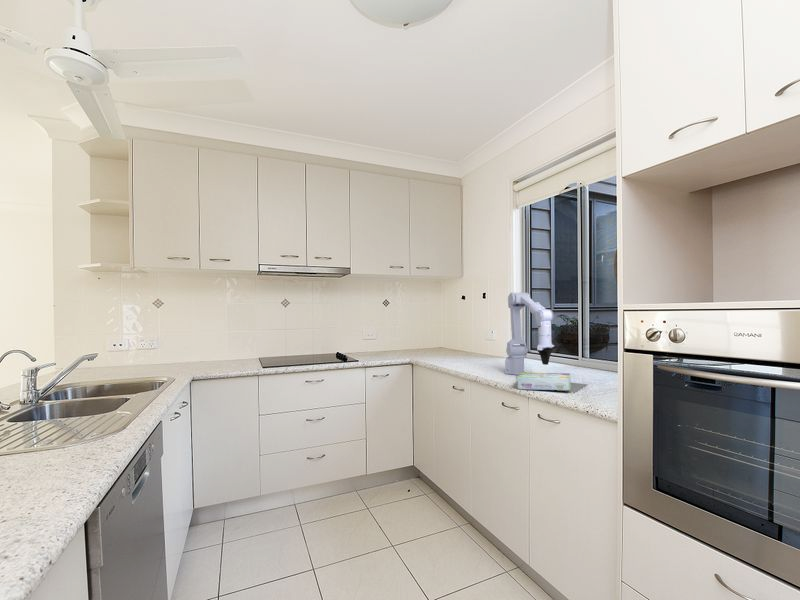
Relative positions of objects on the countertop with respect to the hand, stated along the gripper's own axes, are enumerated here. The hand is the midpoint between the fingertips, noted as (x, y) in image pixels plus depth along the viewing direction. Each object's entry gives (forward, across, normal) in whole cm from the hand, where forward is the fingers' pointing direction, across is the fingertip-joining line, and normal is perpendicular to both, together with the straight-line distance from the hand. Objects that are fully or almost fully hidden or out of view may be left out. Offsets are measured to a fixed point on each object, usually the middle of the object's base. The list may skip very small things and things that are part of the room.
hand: (545, 364), depth 172 cm
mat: (+9, -2, -10) cm, 14 cm away
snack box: (+6, -3, -1) cm, 6 cm away
